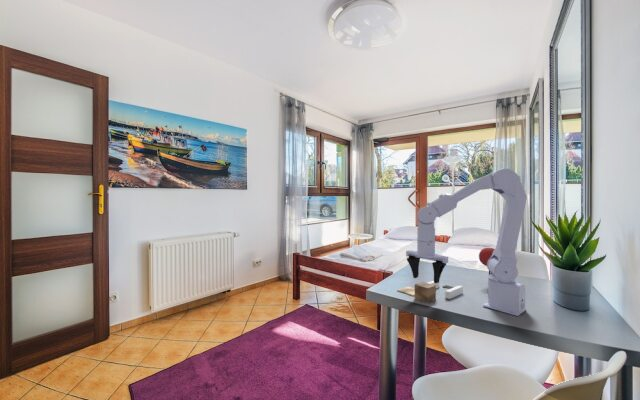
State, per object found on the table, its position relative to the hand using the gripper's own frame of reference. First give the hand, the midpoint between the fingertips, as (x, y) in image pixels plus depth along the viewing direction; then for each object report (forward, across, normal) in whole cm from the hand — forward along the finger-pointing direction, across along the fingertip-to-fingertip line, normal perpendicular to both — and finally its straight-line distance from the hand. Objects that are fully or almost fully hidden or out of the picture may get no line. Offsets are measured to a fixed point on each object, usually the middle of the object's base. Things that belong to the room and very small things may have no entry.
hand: (425, 280), depth 93 cm
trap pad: (+6, -1, -18) cm, 20 cm away
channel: (+6, 0, -11) cm, 13 cm away
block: (+7, 0, 0) cm, 7 cm away
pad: (+6, +7, -2) cm, 10 cm away
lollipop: (+7, -8, -36) cm, 37 cm away
